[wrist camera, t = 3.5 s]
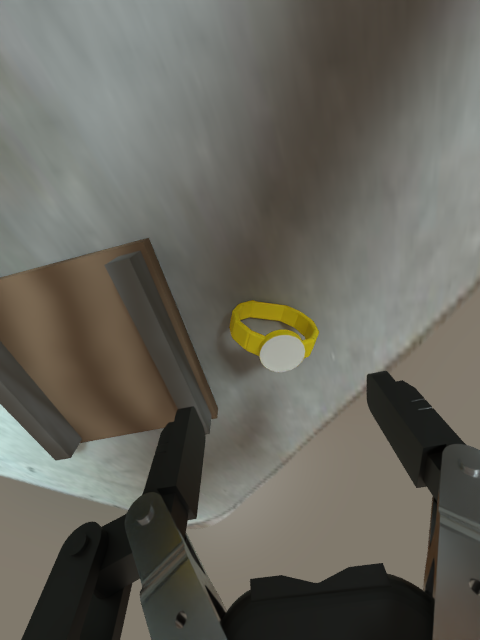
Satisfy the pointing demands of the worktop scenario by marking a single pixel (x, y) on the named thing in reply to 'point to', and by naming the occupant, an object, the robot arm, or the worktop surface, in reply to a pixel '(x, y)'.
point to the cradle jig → (96, 350)
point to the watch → (274, 335)
